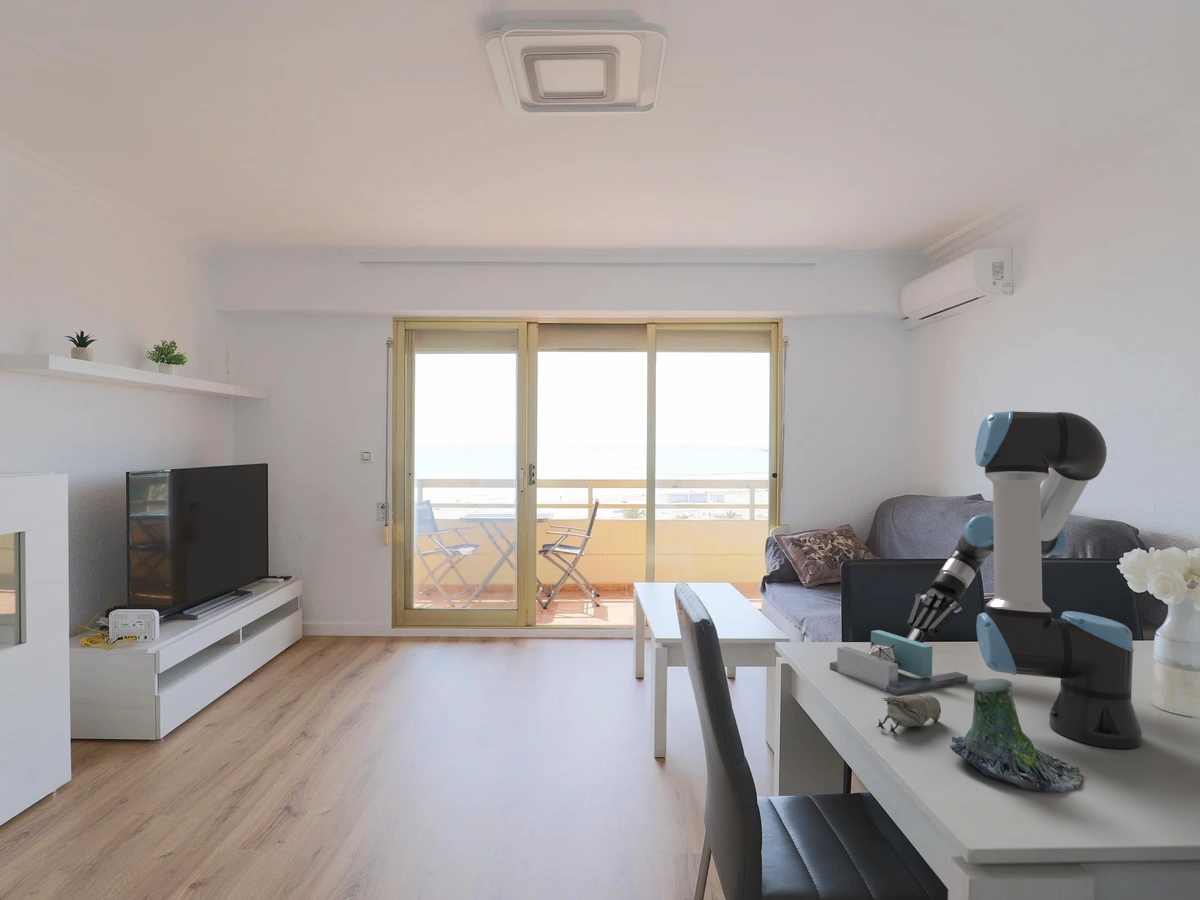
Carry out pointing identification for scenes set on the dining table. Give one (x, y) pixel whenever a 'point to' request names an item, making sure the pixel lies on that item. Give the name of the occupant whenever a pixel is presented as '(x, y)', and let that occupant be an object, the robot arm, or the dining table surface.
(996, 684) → the tree stump
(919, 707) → the decorative bird
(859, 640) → the dining table surface
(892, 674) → the vise base
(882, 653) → the game die
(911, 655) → the sliding jaw
